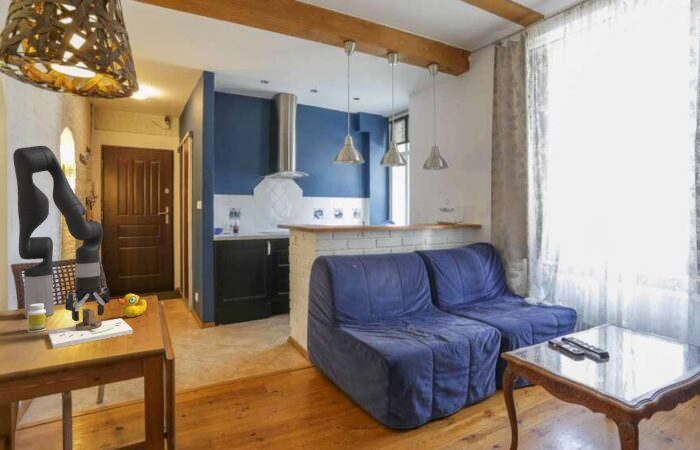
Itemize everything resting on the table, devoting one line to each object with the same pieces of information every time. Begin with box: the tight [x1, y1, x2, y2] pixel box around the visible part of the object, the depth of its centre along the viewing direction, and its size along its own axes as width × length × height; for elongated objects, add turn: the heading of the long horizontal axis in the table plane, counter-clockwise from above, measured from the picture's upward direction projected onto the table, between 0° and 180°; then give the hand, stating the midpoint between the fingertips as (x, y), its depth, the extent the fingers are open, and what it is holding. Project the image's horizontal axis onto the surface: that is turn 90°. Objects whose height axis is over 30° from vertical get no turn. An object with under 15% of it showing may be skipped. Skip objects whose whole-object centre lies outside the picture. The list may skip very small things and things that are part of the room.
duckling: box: [117, 293, 147, 318], centre depth 157 cm, size 11×5×10 cm, turn 148°
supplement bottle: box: [27, 303, 47, 333], centre depth 138 cm, size 5×5×10 cm
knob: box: [74, 308, 103, 330], centre depth 137 cm, size 12×8×6 cm, turn 56°
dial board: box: [47, 317, 134, 350], centre depth 135 cm, size 18×23×2 cm
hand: (88, 317), depth 138 cm, fingers open, 8 cm apart
